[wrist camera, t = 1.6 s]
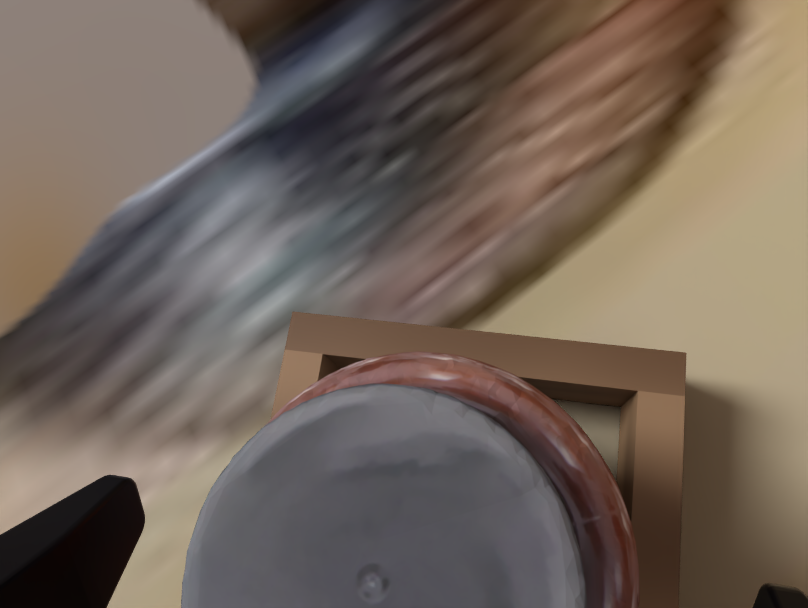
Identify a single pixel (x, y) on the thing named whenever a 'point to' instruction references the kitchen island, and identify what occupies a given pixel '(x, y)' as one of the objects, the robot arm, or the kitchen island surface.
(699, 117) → the kitchen island surface
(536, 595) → the supplement bottle
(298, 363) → the pocket
